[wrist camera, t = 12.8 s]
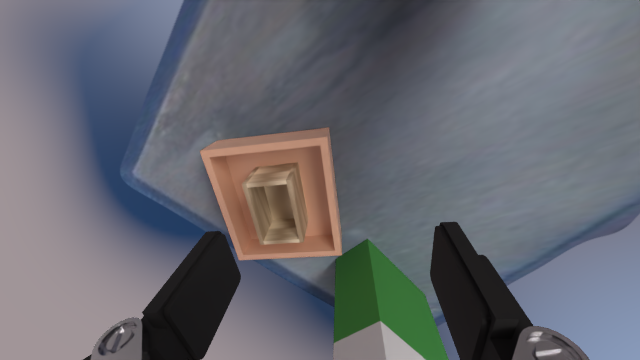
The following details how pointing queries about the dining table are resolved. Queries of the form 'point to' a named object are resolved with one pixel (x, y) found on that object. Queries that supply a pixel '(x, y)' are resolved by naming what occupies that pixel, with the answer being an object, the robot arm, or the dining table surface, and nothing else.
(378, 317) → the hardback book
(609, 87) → the dining table surface
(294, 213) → the pine crate
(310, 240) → the terracotta crate
